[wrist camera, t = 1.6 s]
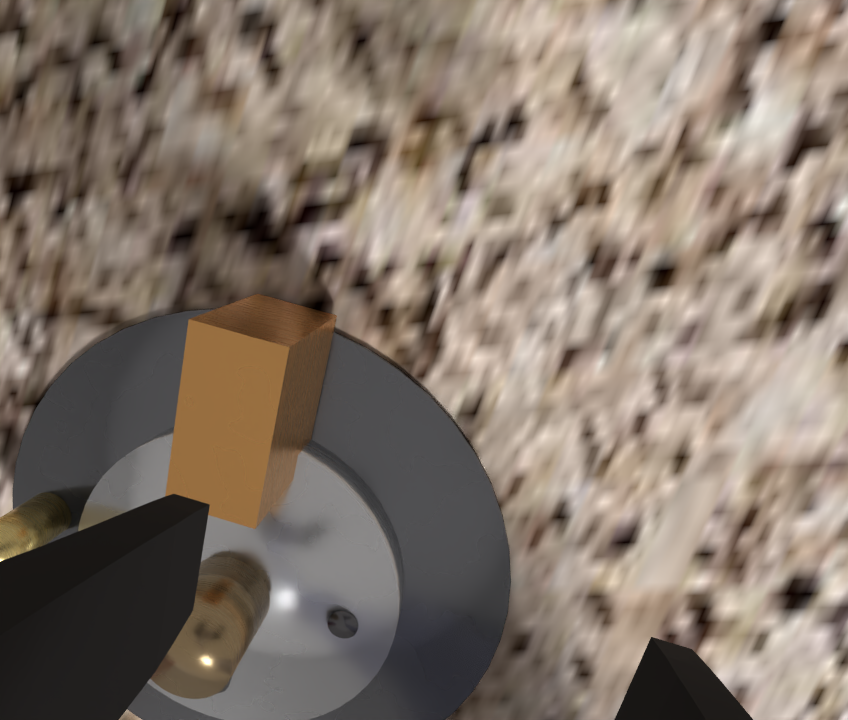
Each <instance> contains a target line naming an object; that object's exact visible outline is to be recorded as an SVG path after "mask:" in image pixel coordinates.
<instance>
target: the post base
mask: <svg viewBox="0 0 848 720" xmlns="http://www.w3.org/2000/svg"><path fill="white" fill-rule="evenodd" d="M212 310H215V309H203V310H189V311H184V312H179V313H174V314H169V315H165V316H160V317H156V318H153V319H150V320H147V321H144V322H142V323H139V324H136V325H134V326H131V327H128V328H125V329H123V330H121V331H119V332H117V333H116V334H114V335H112V336H110V337H108V338H107V339H105V340H103V341H101V342H99V343H98V344H96V345H94V346H93V347H92V348H90V349H89V350H88V351H87V352H85V353H84V354H83V355H82V356H80V357H79V358H78V359H76V360H75V361H74V362H73V363H71V364H70V365H69V367H68V368H67V369H66V370H65V371H64V372H63V373H62V374H61V375H60V376H59V377H58V379H57V380H56V381H55V382H54V383H53V384H52V385H51V386H50V388H49V389H48V391H47V392H46V394H45V396H44V397H43V399H42V400H41V402H40V403H39V405H38V406H37V408H36V409H35V411H34V413H33V416H32V418H31V420H30V422H29V425H28V427H27V429H26V431H25V434H24V436H23V439H22V443H21V447H20V450H19V454H18V458H17V461H16V467H15V476H14V484H13V510H12V511H10V512H9V513H7V514H5V515H4V516H2V517H1V518H0V561H2V560H5V559H8V558H10V557H13V556H16V555H19V554H22V553H24V552H27V551H30V550H33V549H35V548H38V547H41V546H43V545H46V544H48V543H51V542H53V541H56V540H58V539H61V538H63V537H66V536H68V535H71V534H73V533H76V532H78V528H79V522H80V519H81V516H82V513H83V510H84V507H85V504H86V502H87V500H88V498H89V496H90V495H91V493H92V491H93V489H94V487H95V486H96V485H97V483H98V482H99V481H100V479H101V478H102V477H103V475H104V474H105V473H106V472H107V471H108V470H109V469H110V468H111V467H112V466H113V465H114V464H115V463H116V462H117V461H119V460H120V459H122V458H123V457H125V456H126V455H127V454H129V453H130V452H132V451H133V450H135V449H136V448H138V447H139V446H141V445H142V444H144V443H145V442H147V441H148V440H150V439H151V438H153V437H154V436H156V435H158V434H160V433H162V432H164V431H166V430H168V429H170V428H172V427H174V426H175V418H176V411H177V403H178V396H179V388H180V381H181V373H182V366H183V358H184V351H185V343H186V336H187V328H188V321H189V319H190V318H193V317H196V316H199V315H201V314H204V313H207V312H209V311H212ZM311 440H313V441H315V442H317V443H318V444H320V445H322V446H323V447H325V448H326V449H328V450H329V451H331V452H332V453H334V454H335V455H336V456H338V457H339V458H340V459H341V460H342V461H344V462H345V463H346V464H347V465H348V466H350V467H351V468H352V469H353V470H354V471H355V472H356V473H357V474H358V475H359V476H360V477H361V479H362V480H363V481H364V482H365V483H366V484H367V485H368V486H369V488H370V489H371V490H372V492H373V493H374V494H375V496H376V497H377V499H378V500H379V501H380V503H381V505H382V506H383V508H384V510H385V512H386V513H387V515H388V517H389V519H390V521H391V523H392V526H393V528H394V531H395V533H396V536H397V538H398V541H399V545H400V549H401V553H402V557H403V566H404V575H405V582H404V598H403V603H402V608H401V613H400V617H399V621H398V625H397V629H396V633H395V637H394V640H393V643H392V645H391V648H390V651H389V653H388V656H387V658H386V659H385V661H384V663H383V665H382V666H381V668H380V670H379V672H378V673H377V674H376V675H375V677H374V678H373V679H372V680H371V682H370V683H369V684H368V685H367V686H366V687H365V688H364V689H363V690H362V691H361V692H360V693H358V694H357V695H356V696H355V697H354V698H353V699H351V700H350V701H348V702H346V703H345V704H343V705H342V706H340V707H339V708H337V709H335V710H333V711H330V712H328V713H326V714H324V715H322V716H318V717H315V718H312V719H309V720H445V719H446V718H447V717H449V716H450V715H451V714H452V713H453V712H455V711H456V709H457V708H458V707H459V706H460V705H461V704H462V703H463V702H464V700H465V699H466V698H467V697H468V696H469V695H470V694H471V693H472V691H473V690H474V689H475V687H476V686H477V684H478V682H479V681H480V679H481V678H482V676H483V675H484V673H485V672H486V670H487V669H488V667H489V665H490V662H491V660H492V658H493V656H494V653H495V651H496V649H497V647H498V644H499V642H500V639H501V635H502V632H503V628H504V624H505V620H506V616H507V613H508V603H509V594H510V584H511V577H510V557H509V545H508V540H507V535H506V530H505V525H504V520H503V515H502V512H501V510H500V507H499V504H498V501H497V498H496V495H495V493H494V490H493V487H492V484H491V482H490V480H489V478H488V476H487V474H486V472H485V470H484V468H483V466H482V465H481V463H480V461H479V459H478V457H477V455H476V453H475V451H474V450H473V448H472V447H471V445H470V444H469V443H468V441H467V440H466V438H465V437H464V435H463V434H462V433H461V431H460V430H459V428H458V427H457V425H456V424H455V423H454V421H453V420H452V419H451V418H450V417H449V416H448V415H447V414H446V412H445V411H444V410H443V409H442V408H441V407H440V406H439V405H438V404H437V403H436V401H435V400H434V399H433V398H432V397H431V396H430V395H429V394H428V393H427V392H426V391H425V390H423V389H422V388H421V387H420V386H419V385H418V384H416V383H415V382H414V381H413V380H412V379H411V378H409V377H408V376H407V375H406V374H405V373H404V372H402V371H401V370H400V369H399V368H397V367H396V366H394V365H393V364H391V363H390V362H388V361H387V360H385V359H384V358H382V357H380V356H379V355H377V354H376V353H374V352H373V351H371V350H370V349H368V348H367V347H365V346H363V345H361V344H358V343H356V342H354V341H352V340H350V339H348V338H346V337H344V336H342V335H340V334H338V333H336V332H333V336H332V341H331V346H330V351H329V356H328V360H327V365H326V370H325V375H324V379H323V384H322V389H321V394H320V399H319V403H318V408H317V413H316V418H315V422H314V427H313V432H312V437H311ZM269 607H270V596H269V591H268V588H267V586H266V584H265V582H264V580H263V579H262V577H261V576H260V575H259V574H258V573H257V572H256V571H255V570H254V569H253V568H252V567H251V566H249V565H248V564H246V563H244V562H242V561H240V560H237V559H235V558H231V557H224V556H218V557H211V558H208V559H205V560H203V561H201V564H200V570H199V577H198V583H197V589H196V596H195V602H194V608H193V611H192V613H191V615H190V616H189V618H188V620H187V621H186V623H185V625H184V626H183V628H182V630H181V631H180V633H179V635H178V636H177V638H176V640H175V641H174V643H173V645H172V646H171V648H170V649H169V651H168V653H167V654H166V656H165V657H164V659H163V661H162V662H161V664H160V665H159V667H158V669H157V670H156V672H155V673H154V674H153V676H152V677H151V678H150V679H151V680H152V681H153V682H154V683H155V684H157V685H158V686H159V687H160V688H162V689H164V690H165V691H167V692H169V693H171V694H173V695H176V696H179V697H183V698H188V699H203V698H207V697H210V696H213V695H215V694H217V693H218V692H220V691H221V690H222V689H223V688H224V687H225V686H226V685H227V683H228V682H229V680H230V678H231V676H232V675H233V673H234V671H235V669H236V668H237V666H238V664H239V662H240V661H241V659H242V657H243V655H244V654H245V652H246V650H247V649H248V647H249V645H250V643H251V642H252V640H253V638H254V636H255V635H256V633H257V631H258V629H259V628H260V626H261V624H262V623H263V621H264V619H265V617H266V615H267V613H268V611H269ZM127 709H128V710H129V711H131V712H132V713H133V714H135V715H136V716H138V717H139V718H141V719H143V720H223V719H219V718H215V717H212V716H208V715H206V714H203V713H201V712H198V711H195V710H193V709H190V708H188V707H186V706H184V705H182V704H180V703H178V702H176V701H174V700H172V699H171V698H169V697H167V696H166V695H164V694H163V693H161V692H159V691H158V690H156V689H155V688H153V687H152V686H151V685H150V684H148V683H146V685H145V686H144V687H143V689H142V690H141V691H140V693H139V694H138V695H137V696H136V698H135V699H134V700H133V702H132V703H131V704H130V705H129V707H128V708H127Z"/></svg>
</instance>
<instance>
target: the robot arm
mask: <svg viewBox="0 0 848 720" xmlns="http://www.w3.org/2000/svg"><path fill="white" fill-rule="evenodd" d="M209 507H210V504H207V503H203V502H200V501H197V500H194V499H190V498H187V497H184V496H180V495H177V494H171V495H168V496H165V497H162V498H160V499H157V500H154V501H152V502H149V503H147V504H144V505H142V506H139V507H137V508H134V509H132V510H130V511H127V512H125V513H122V514H120V515H117V516H115V517H113V518H110V519H108V520H105V521H103V522H100V523H98V524H96V525H93V526H91V527H88V528H86V529H83V530H81V531H78V532H76V533H73V534H71V535H68V536H66V537H63V538H61V539H58V540H56V541H53V542H51V543H48V544H46V545H43V546H41V547H38V548H35V549H33V550H30V551H27V552H24V553H22V554H19V555H16V556H13V557H10V558H8V559H5V560H2V561H0V720H119V718H120V717H121V716H122V715H123V713H124V712H125V711H126V709H127V708H128V707H129V705H130V704H131V703H132V702H133V700H134V699H135V698H136V696H137V695H138V694H139V693H140V691H141V690H142V689H143V687H144V686H145V685H146V683H147V682H148V681H149V679H150V678H151V677H152V676H153V674H154V673H155V672H156V670H157V669H158V667H159V665H160V664H161V662H162V661H163V659H164V657H165V656H166V654H167V653H168V651H169V649H170V648H171V646H172V645H173V643H174V641H175V640H176V638H177V636H178V635H179V633H180V631H181V630H182V628H183V626H184V625H185V623H186V621H187V620H188V618H189V616H190V615H191V613H192V611H193V608H194V602H195V596H196V589H197V583H198V577H199V570H200V564H201V558H202V551H203V545H204V539H205V532H206V526H207V520H208V513H209ZM615 720H753V719H752V718H751V717H750V715H749V714H748V713H747V712H746V711H745V709H744V708H743V707H742V706H741V705H740V703H739V702H738V701H737V700H736V699H735V697H734V696H733V695H732V694H731V693H730V692H729V690H728V689H727V688H726V687H725V686H724V684H723V683H722V682H721V681H720V680H719V679H718V677H717V676H716V675H715V674H714V673H713V672H712V671H711V669H710V668H709V667H708V666H707V665H706V664H705V663H704V662H703V660H702V659H701V658H700V657H699V656H698V655H697V654H696V653H695V652H694V651H693V650H692V649H689V648H686V647H683V646H679V645H676V644H673V643H669V642H666V641H663V640H659V639H656V638H653V637H651V639H650V641H649V643H648V646H647V648H646V650H645V652H644V655H643V657H642V659H641V661H640V664H639V666H638V668H637V670H636V673H635V675H634V677H633V679H632V682H631V684H630V686H629V688H628V691H627V693H626V695H625V698H624V700H623V702H622V704H621V707H620V709H619V711H618V713H617V716H616V718H615Z"/></svg>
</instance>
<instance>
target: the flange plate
mask: <svg viewBox="0 0 848 720" xmlns="http://www.w3.org/2000/svg"><path fill="white" fill-rule="evenodd" d="M336 317H337V316H336V315H333V314H329V313H325V312H322V311H318V310H315V309H311V308H307V307H304V306H300V305H297V304H293V303H289V302H286V301H282V300H278V299H275V298H271V297H268V296H264V295H260V294H256V295H253V296H250V297H248V298H245V299H242V300H239V301H237V302H234V303H231V304H229V305H226V306H223V307H220V308H218V309H215V310H212V311H209V312H207V313H204V314H201V315H199V316H196V317H193V318H190V319H189V321H188V328H187V336H186V343H185V351H184V358H183V366H182V373H181V381H180V388H179V396H178V403H177V411H176V418H175V426H174V427H172V428H170V429H168V430H166V431H164V432H162V433H160V434H158V435H156V436H154V437H153V438H151V439H150V440H148V441H147V442H145V443H144V444H142V445H141V446H139V447H138V448H136V449H135V450H133V451H132V452H130V453H129V454H127V455H126V456H125V457H123V458H122V459H120V460H119V461H117V462H116V463H115V464H114V465H113V466H112V467H111V468H110V469H109V470H108V471H107V472H106V473H105V474H104V475H103V477H102V478H101V479H100V481H99V482H98V483H97V485H96V486H95V487H94V489H93V491H92V493H91V495H90V496H89V498H88V500H87V502H86V504H85V507H84V510H83V513H82V516H81V519H80V522H79V528H78V531H81V530H83V529H86V528H88V527H91V526H93V525H96V524H98V523H100V522H103V521H105V520H108V519H110V518H113V517H115V516H117V515H120V514H122V513H125V512H127V511H130V510H132V509H134V508H137V507H139V506H142V505H144V504H147V503H149V502H152V501H154V500H157V499H160V498H162V497H165V496H168V495H171V494H177V495H180V496H184V497H187V498H190V499H194V500H197V501H200V502H203V503H207V504H210V507H209V513H208V520H207V526H206V532H205V539H204V545H203V551H202V558H201V561H203V560H205V559H208V558H211V557H218V556H224V557H231V558H235V559H237V560H240V561H242V562H244V563H246V564H248V565H249V566H251V567H252V568H253V569H254V570H255V571H256V572H257V573H258V574H259V575H260V576H261V577H262V579H263V580H264V582H265V584H266V586H267V588H268V591H269V596H270V607H269V611H268V613H267V615H266V617H265V619H264V621H263V623H262V624H261V626H260V628H259V629H258V631H257V633H256V635H255V636H254V638H253V640H252V642H251V643H250V645H249V647H248V649H247V650H246V652H245V654H244V655H243V657H242V659H241V661H240V662H239V664H238V666H237V668H236V669H235V671H234V673H233V675H232V676H231V678H230V680H229V682H228V683H227V685H226V686H225V687H224V688H223V689H222V690H221V691H220V692H218V693H217V694H215V695H213V696H210V697H207V698H203V699H188V698H183V697H179V696H176V695H173V694H171V693H169V692H167V691H165V690H164V689H162V688H160V687H159V686H158V685H157V684H155V683H154V682H153V681H152V680H151V679H149V681H148V682H147V683H148V684H150V685H151V686H152V687H153V688H155V689H156V690H158V691H159V692H161V693H163V694H164V695H166V696H167V697H169V698H171V699H172V700H174V701H176V702H178V703H180V704H182V705H184V706H186V707H188V708H190V709H193V710H195V711H198V712H201V713H203V714H206V715H208V716H212V717H215V718H219V719H223V720H309V719H312V718H315V717H318V716H322V715H324V714H326V713H328V712H330V711H333V710H335V709H337V708H339V707H340V706H342V705H343V704H345V703H346V702H348V701H350V700H351V699H353V698H354V697H355V696H356V695H357V694H358V693H360V692H361V691H362V690H363V689H364V688H365V687H366V686H367V685H368V684H369V683H370V682H371V680H372V679H373V678H374V677H375V675H376V674H377V673H378V672H379V670H380V668H381V666H382V665H383V663H384V661H385V659H386V658H387V656H388V653H389V651H390V648H391V645H392V643H393V640H394V637H395V633H396V629H397V625H398V621H399V617H400V613H401V608H402V603H403V598H404V582H405V575H404V566H403V557H402V553H401V549H400V545H399V541H398V538H397V536H396V533H395V531H394V528H393V526H392V523H391V521H390V519H389V517H388V515H387V513H386V512H385V510H384V508H383V506H382V505H381V503H380V501H379V500H378V499H377V497H376V496H375V494H374V493H373V492H372V490H371V489H370V488H369V486H368V485H367V484H366V483H365V482H364V481H363V480H362V479H361V477H360V476H359V475H358V474H357V473H356V472H355V471H354V470H353V469H352V468H351V467H350V466H348V465H347V464H346V463H345V462H344V461H342V460H341V459H340V458H339V457H338V456H336V455H335V454H334V453H332V452H331V451H329V450H328V449H326V448H325V447H323V446H322V445H320V444H318V443H317V442H315V441H313V440H311V437H312V432H313V427H314V422H315V418H316V413H317V408H318V403H319V399H320V394H321V389H322V384H323V379H324V375H325V370H326V365H327V360H328V356H329V351H330V346H331V341H332V336H333V332H334V327H335V322H336Z"/></svg>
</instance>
